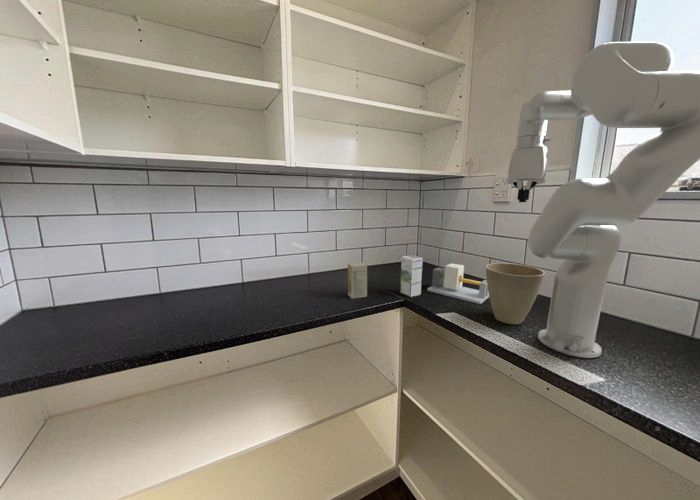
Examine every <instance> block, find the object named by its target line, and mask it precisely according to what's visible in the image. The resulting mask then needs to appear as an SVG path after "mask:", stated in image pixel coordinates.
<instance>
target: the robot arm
mask: <svg viewBox="0 0 700 500" xmlns="http://www.w3.org/2000/svg"><path fill="white" fill-rule="evenodd" d="M673 52H674V51H673V50H672V49H671V48H670V47H669V45H667V44H665V43H661V42H658V41H657V42H656V41H612V42H610V41H609V42H604V43H602V44H599V45H598V46H594V48H592V49H590V51H588V52H587V53H586V54H585V55H584V56H583V57H582V58H581V60H579V62H578V63H577V65H576V67H575V69H574V72H573V75H572V86H571V89H570V90H542V91H538V92H536V93H535V94H534V95H533V96H532V97H531V99H530V100H529V101H526V102H525V103H523V105H522V106H521V107H520V114H519V121H518V130H517V138H516V145H515V146H516V148H513V151H512V153H511V157H510V162H509V166H508V171H507V180H506V184H508V185H512V186H514V187H515V188H516V189H517V190H518V192H517V198H516V200H518V202H519V203H527V201H529V199H530V194H531V193H530V192H531V190H532V189H533V188H535V186H537V185H541V184H545V183H546V175H547V171H548V169H547V168H548V167H547V166H548V147H547V146H545V145H546V144H547V143H551V139H552V138H551V137H547V136H546V135H547V130H548V129H547V127H548V121H575V120H578V119H583V118H585V117H588V116H591V115H592V116H593V117H594V119H595V120H596V121H597V122H598V123H599V124H601V125H603V126H605V127H608V128H615V129H660V130H659V132H657V133H656V134H655V135H653V136H651V137H650V138H648V139H645V140H644V141H643V142H641V143H640V144H639V145H637V146H636V147H634V148H633V149H631V151H629V152H628V153H627V154H626V155H625V156H623V158H622V159H621V161H620V163H619V164H618V165H617V167H615V169H614V170H613V171H612V172H611V173H610V174H609V175H607V176H605V177H601V178H597V177H596V178H576V179H573V180H569V181H567V182H565V183H563V184H562V185H560V187H558V188H557V189H556V190H555V191H554V193H553V194H552V195H551V197H550V198H549V200H548V202H547V203H546V205H545V206H544V208H543V209H542V210H541V213H540V214H539V216H538V217H537V218H536V220H535V222H534V224H533V225H532V227H531V229H530V231H529V234H528V238H527V244H528V249H529V250H530V251H529V252H531V254H533V255H534V256H536V257H539V258H541V259H547V260H563V262H561V264H560V265H559V267H558V268H557V270H556V273H555V276H554V278H553V279H554V280H553V287H552V293H551V297H550V305H549V310H548V316H547V317H548V318H547V322H546V324H547V325H546V328H544V329H541V330H539V331H538V334H537V339H538V340H539V341H540V343H542V344H543V345H545V346H546V347H548V348H550V349H552V350H554V351H556V352H558V353H562V354H564V355H567V356H570V357H577V358H583V359H594V358H598V357H600V356H601V355H602V351H603V349H602V347H601V345H599V344H598V342H595V341H596V336H597V330H598V326H599V321H600V315H601V311H602V306H603V301H604V295H605V290H606V287H607V286H606V285H607V281H608V277H609V274H610V273H609V272H610V269H611V266H612V264H613V262H614V260H615V257H616V256H617V254H618V253H619V252H618V251H619V249H620V246H621V244H622V235H621V232H620V230H619V229H618V227H617V226H625V225H629V224H631V223H634V222H635V221H637V220H638V219H639V218H640V217H642V216H643V215H644V214H645V213H646V211H648V210H649V209H650V208H651V207H652V206H653V205H654V204H655V203H656V202H657V201H658V200H659V199H660V198H661V197H662V196H663V195H664V194H665V193H666V192H667V191H668V190H669V189H670V188H671V187H672V186H673V185H674V184H675V183H676V182H677V181H678V179H679V178H681V176H682V175H683V174H684V173H686V172H687V171H688V170H689V169H690V168H691V167H692V166H694V165H695V164H696V163H697V162H698V161H699V160H700V70H675V71H671V69H672V67H673V65H674V59H675V56H674V53H673ZM524 181H527V183H526V186H525V187H524Z"/></svg>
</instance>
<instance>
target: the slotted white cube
mask: <svg viewBox="0 0 700 500" xmlns="http://www.w3.org/2000/svg"><path fill="white" fill-rule="evenodd" d="M444 269H445V275H444V287H445V288H450V289H454V290H457V289H459V288H460V287H463V283H464V282H461V281H458V280H459V278H464V271H465V265H463V264H457V263H452V262H451V263H449V264H447V265H444Z"/></svg>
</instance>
